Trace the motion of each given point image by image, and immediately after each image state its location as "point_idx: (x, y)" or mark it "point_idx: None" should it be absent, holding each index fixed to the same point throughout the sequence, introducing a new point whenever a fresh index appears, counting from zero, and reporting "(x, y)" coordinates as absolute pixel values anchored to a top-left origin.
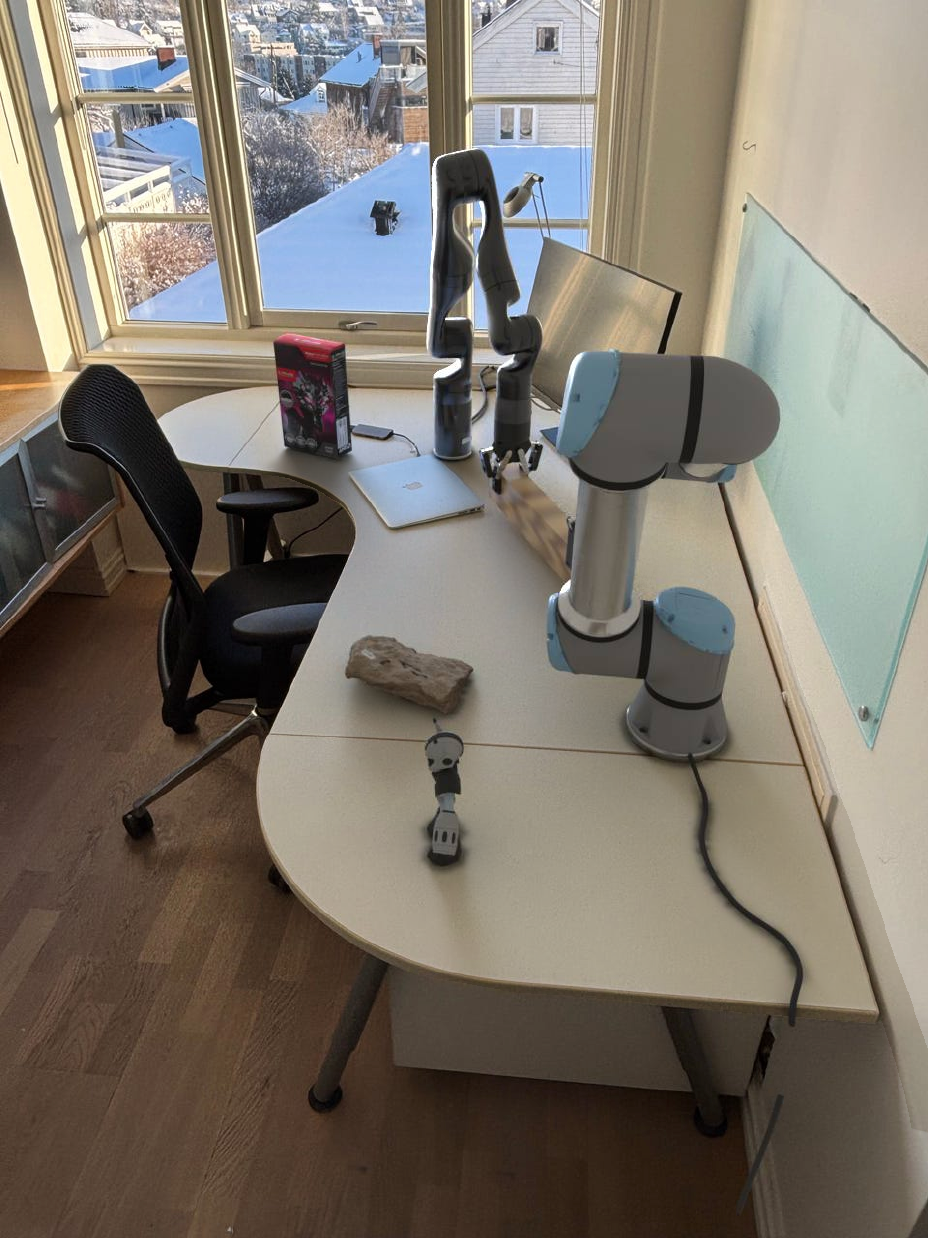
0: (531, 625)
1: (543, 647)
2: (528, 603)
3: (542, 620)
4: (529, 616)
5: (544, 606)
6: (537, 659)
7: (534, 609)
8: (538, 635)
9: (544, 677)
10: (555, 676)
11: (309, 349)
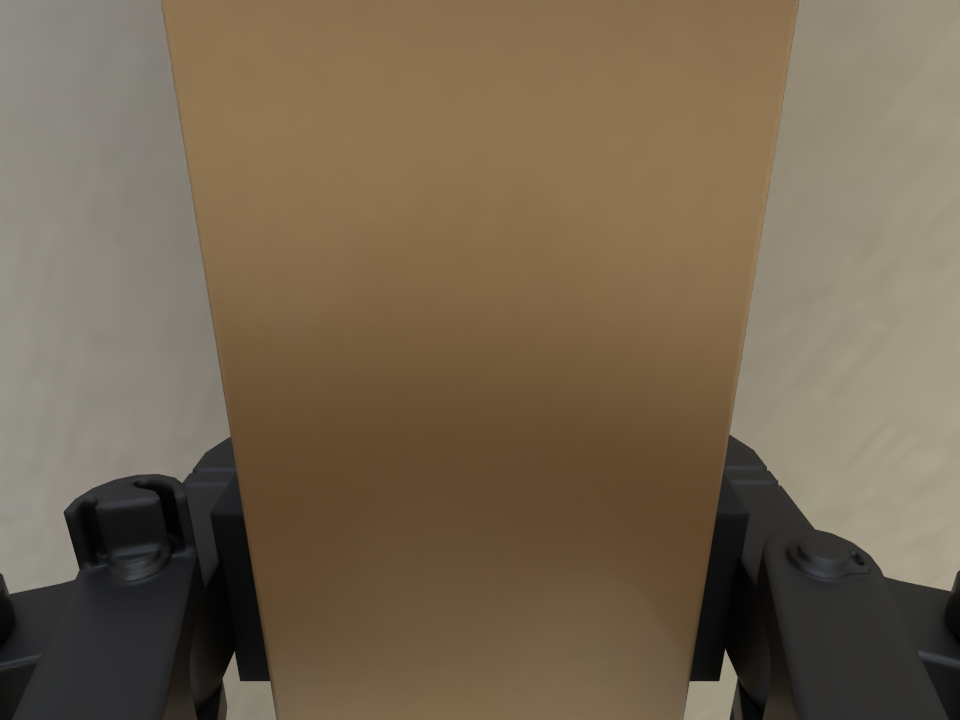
0: (30, 292)
1: (61, 510)
2: (62, 3)
3: (119, 263)
4: (36, 185)
5: None
6: (6, 584)
7: (92, 108)
8: (55, 403)
9: None
10: None
11: None
